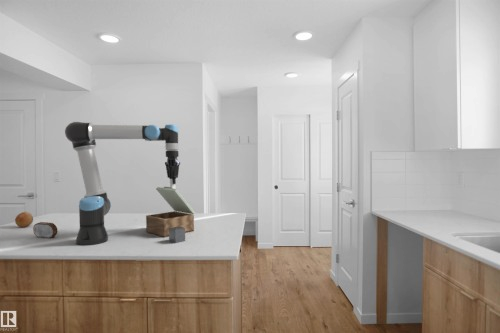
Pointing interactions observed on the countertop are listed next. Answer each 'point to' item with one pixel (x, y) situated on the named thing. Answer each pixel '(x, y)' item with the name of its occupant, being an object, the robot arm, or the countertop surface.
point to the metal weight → (176, 234)
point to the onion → (24, 219)
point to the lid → (175, 199)
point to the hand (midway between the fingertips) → (172, 189)
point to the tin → (45, 230)
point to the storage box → (169, 222)
